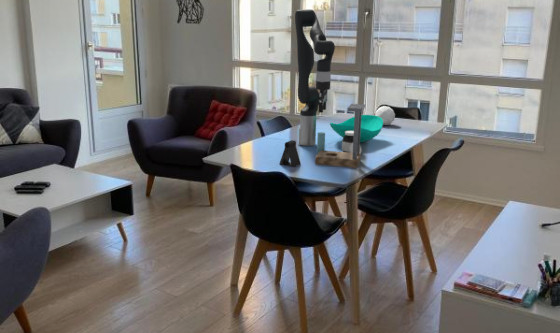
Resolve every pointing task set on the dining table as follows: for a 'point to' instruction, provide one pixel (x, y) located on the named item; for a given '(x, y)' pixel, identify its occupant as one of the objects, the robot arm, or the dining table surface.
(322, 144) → the peg
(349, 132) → the spread jar
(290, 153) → the phone stand
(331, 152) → the sheltered socket
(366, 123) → the table top decor
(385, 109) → the geodesic sphere
